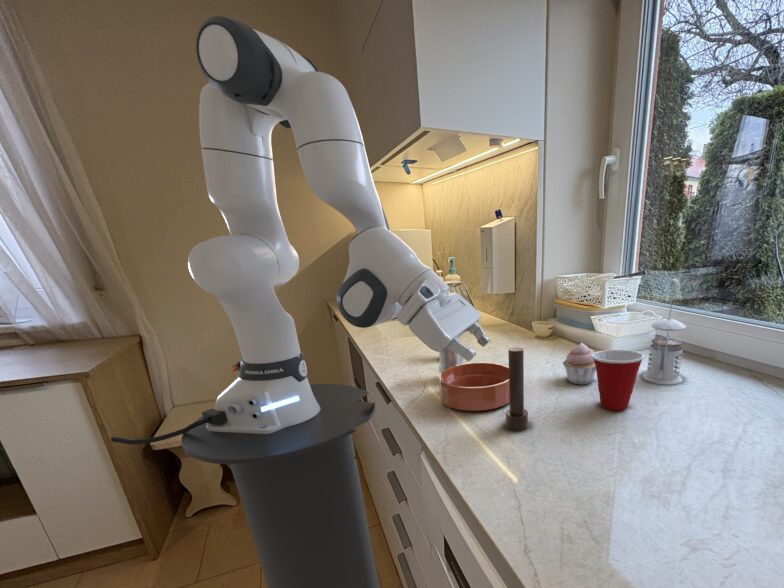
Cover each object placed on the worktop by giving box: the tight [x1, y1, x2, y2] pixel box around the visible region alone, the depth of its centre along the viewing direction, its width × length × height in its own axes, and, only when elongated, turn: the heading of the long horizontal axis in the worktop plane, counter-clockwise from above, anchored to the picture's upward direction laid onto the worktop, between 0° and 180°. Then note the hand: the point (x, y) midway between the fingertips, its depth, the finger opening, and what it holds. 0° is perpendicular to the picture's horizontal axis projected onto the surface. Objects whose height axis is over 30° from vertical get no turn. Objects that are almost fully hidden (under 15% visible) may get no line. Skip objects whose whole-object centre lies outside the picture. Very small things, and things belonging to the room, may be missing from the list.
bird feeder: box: [642, 278, 687, 386], centre depth 101 cm, size 10×12×25 cm
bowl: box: [437, 361, 510, 412], centre depth 94 cm, size 17×17×6 cm
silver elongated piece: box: [438, 336, 464, 375], centre depth 104 cm, size 6×7×20 cm
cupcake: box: [562, 342, 597, 385], centre depth 103 cm, size 9×9×10 cm
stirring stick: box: [505, 346, 529, 432], centre depth 79 cm, size 4×4×16 cm
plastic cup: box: [592, 349, 645, 412], centre depth 88 cm, size 11×11×12 cm
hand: (480, 350), depth 78 cm, fingers open, 8 cm apart
